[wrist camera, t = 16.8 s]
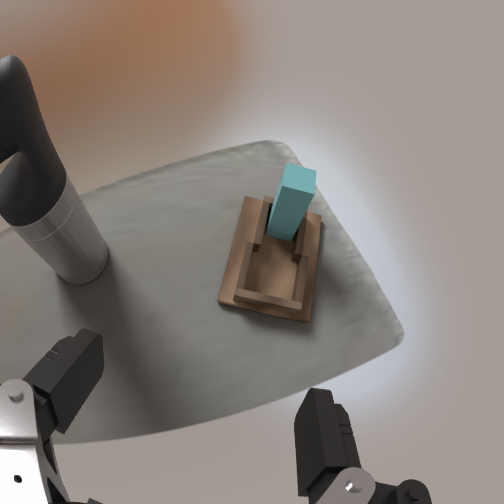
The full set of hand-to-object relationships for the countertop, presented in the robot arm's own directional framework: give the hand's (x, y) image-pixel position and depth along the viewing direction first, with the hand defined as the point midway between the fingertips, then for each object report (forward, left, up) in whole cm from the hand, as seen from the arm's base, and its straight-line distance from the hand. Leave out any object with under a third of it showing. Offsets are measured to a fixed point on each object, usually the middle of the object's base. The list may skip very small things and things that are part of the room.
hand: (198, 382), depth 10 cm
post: (+5, +25, -28) cm, 38 cm away
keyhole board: (+5, +21, -29) cm, 36 cm away
